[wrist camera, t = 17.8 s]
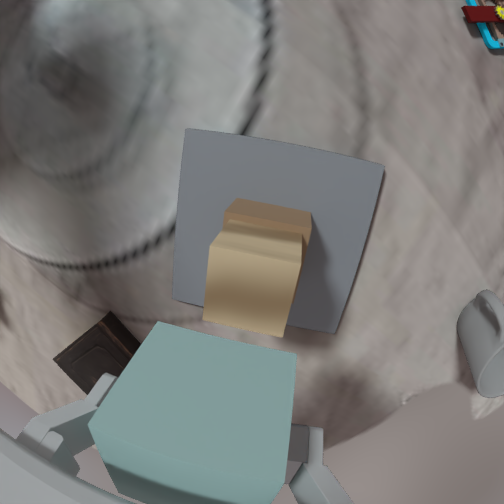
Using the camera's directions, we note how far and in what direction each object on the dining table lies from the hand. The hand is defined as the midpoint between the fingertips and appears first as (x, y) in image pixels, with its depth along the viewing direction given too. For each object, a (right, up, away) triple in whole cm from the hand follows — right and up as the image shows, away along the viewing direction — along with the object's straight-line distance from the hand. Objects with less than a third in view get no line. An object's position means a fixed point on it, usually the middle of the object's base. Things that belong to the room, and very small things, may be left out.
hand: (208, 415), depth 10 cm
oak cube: (+2, +5, +12) cm, 14 cm away
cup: (+25, 0, +16) cm, 30 cm away
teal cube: (0, +1, +1) cm, 2 cm away
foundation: (+3, +7, +17) cm, 19 cm away
